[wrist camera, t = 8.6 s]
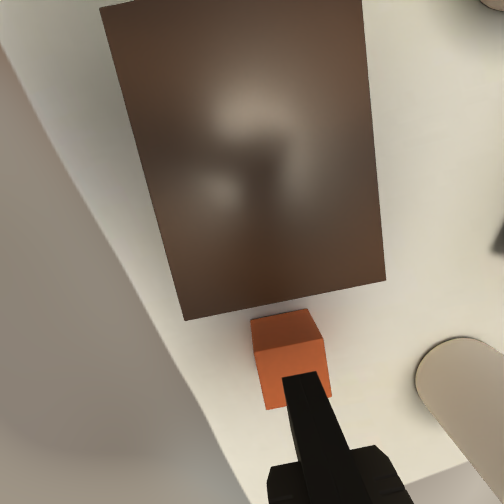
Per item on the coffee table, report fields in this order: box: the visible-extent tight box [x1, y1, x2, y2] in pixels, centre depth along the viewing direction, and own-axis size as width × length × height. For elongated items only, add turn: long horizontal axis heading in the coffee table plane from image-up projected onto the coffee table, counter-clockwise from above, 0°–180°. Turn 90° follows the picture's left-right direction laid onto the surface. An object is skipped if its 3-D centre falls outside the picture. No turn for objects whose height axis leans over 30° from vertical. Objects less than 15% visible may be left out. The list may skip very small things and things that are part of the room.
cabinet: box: [99, 0, 386, 321], centre depth 19 cm, size 15×11×9 cm
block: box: [250, 309, 332, 410], centre depth 25 cm, size 5×5×5 cm
